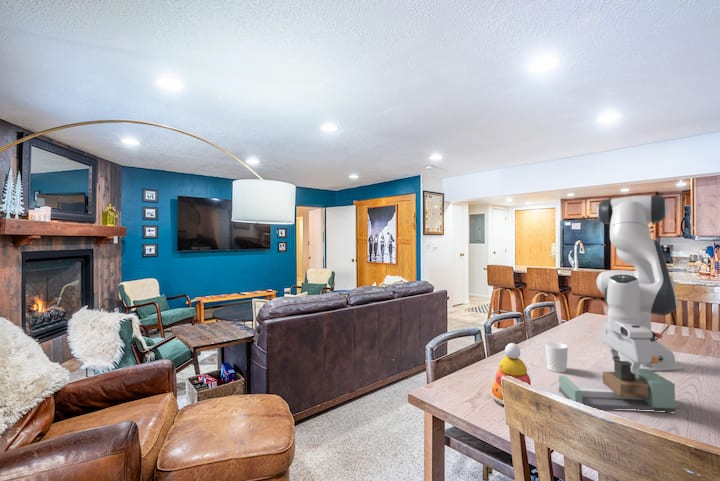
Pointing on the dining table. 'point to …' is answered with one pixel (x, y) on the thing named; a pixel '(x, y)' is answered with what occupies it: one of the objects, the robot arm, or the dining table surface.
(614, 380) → the carriage
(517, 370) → the stacking toy
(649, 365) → the gauge button
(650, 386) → the rail base
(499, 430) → the dining table surface
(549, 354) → the white cup
